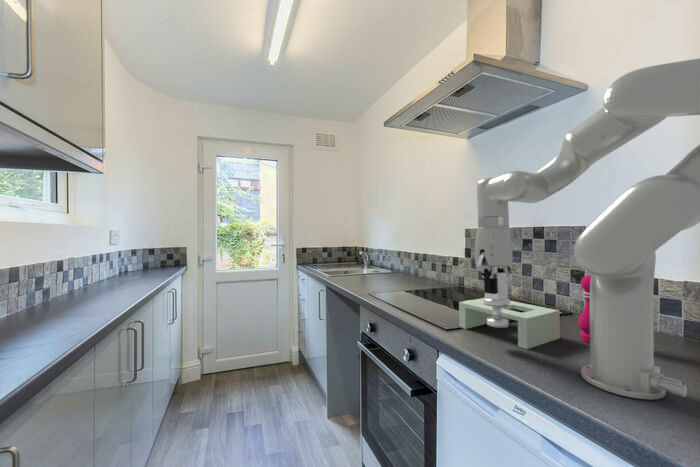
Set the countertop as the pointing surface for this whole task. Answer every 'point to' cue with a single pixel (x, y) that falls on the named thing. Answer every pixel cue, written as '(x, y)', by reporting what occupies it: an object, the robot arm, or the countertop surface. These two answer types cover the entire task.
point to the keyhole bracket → (532, 324)
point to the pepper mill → (585, 310)
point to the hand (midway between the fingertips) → (496, 291)
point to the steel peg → (498, 301)
